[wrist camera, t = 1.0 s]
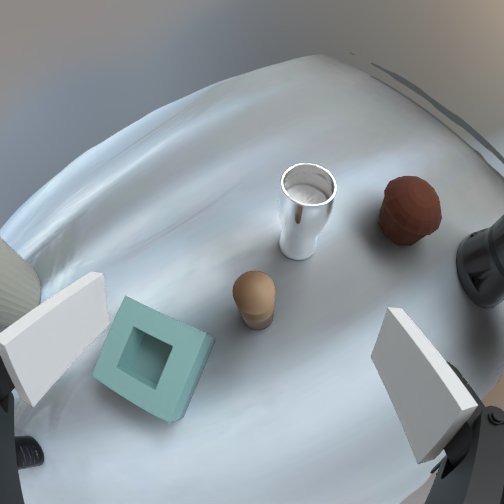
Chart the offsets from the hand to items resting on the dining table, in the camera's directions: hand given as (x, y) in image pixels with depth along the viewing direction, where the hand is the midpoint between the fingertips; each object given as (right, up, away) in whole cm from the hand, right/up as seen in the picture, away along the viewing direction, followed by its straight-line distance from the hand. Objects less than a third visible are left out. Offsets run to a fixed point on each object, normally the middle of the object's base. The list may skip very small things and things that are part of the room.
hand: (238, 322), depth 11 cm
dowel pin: (+1, -6, +27) cm, 28 cm away
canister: (-48, -7, +30) cm, 57 cm away
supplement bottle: (-43, -37, +16) cm, 59 cm away
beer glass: (+8, +4, +32) cm, 33 cm away
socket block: (-13, -13, +25) cm, 31 cm away
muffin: (+27, +8, +33) cm, 43 cm away
